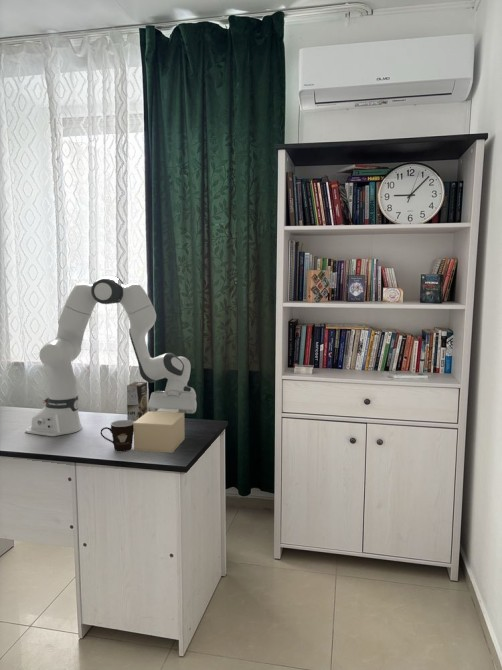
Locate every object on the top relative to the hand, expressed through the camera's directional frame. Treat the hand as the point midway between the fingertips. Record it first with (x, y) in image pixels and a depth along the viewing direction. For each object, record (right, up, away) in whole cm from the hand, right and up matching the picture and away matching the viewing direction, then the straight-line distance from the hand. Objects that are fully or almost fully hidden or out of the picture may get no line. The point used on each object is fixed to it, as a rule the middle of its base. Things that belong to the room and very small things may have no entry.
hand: (168, 420), depth 207 cm
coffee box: (-18, -3, +26) cm, 32 cm away
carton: (-2, -8, -10) cm, 12 cm away
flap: (-1, +3, -9) cm, 10 cm away
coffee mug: (-16, -8, -15) cm, 23 cm away
